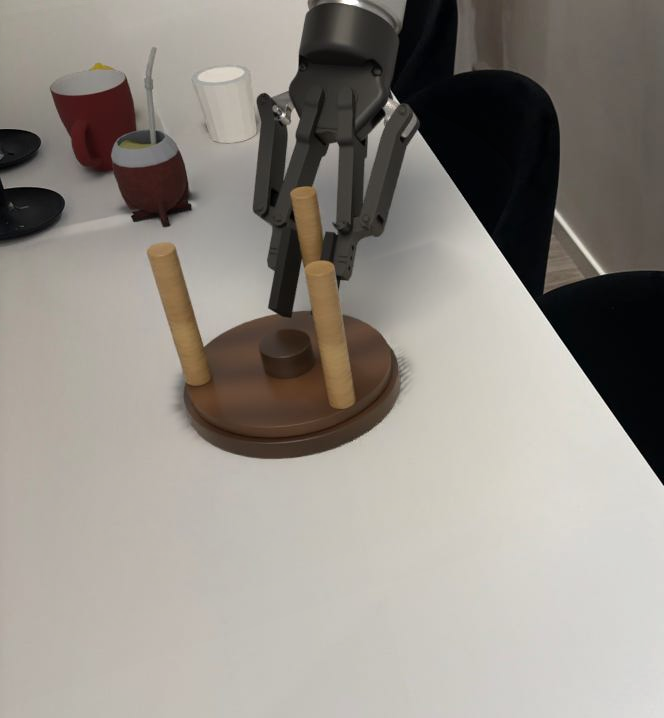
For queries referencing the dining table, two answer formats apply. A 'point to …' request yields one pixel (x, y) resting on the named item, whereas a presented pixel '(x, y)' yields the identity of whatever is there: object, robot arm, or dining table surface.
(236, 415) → the rack turntable
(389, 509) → the dining table surface
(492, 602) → the dining table surface
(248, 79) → the shot glass
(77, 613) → the dining table surface
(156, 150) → the mate gourd
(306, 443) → the rack base
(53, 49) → the dining table surface
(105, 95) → the mug
